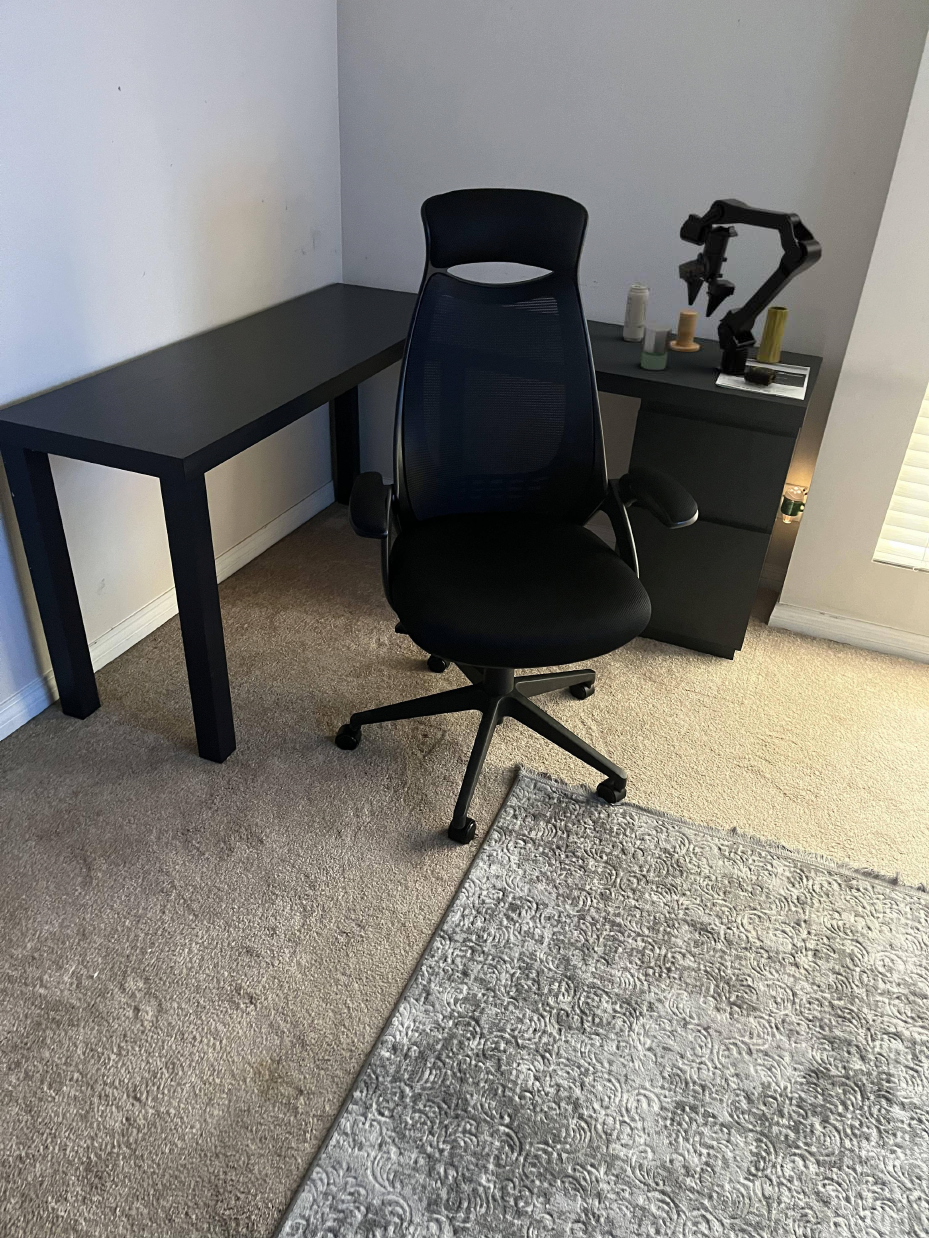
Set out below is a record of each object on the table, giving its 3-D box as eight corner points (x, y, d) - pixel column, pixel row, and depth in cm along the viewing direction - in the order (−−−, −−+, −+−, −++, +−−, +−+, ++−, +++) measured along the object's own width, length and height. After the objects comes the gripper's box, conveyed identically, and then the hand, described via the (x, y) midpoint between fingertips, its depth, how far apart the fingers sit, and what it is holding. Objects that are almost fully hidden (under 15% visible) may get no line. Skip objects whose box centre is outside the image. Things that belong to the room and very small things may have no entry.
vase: (774, 365, 242) (785, 311, 234) (752, 360, 245) (763, 308, 238) (782, 360, 246) (793, 307, 239) (761, 356, 249) (771, 304, 242)
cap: (668, 347, 239) (671, 324, 235) (669, 354, 232) (673, 331, 229) (641, 345, 239) (643, 322, 236) (641, 352, 233) (644, 329, 230)
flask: (670, 369, 237) (675, 331, 231) (648, 371, 235) (653, 333, 229) (657, 362, 242) (662, 325, 236) (636, 364, 240) (641, 326, 234)
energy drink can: (641, 343, 258) (648, 289, 250) (620, 340, 260) (627, 287, 252) (644, 338, 263) (651, 285, 255) (624, 335, 264) (630, 283, 256)
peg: (705, 350, 253) (711, 315, 247) (678, 353, 250) (684, 317, 245) (688, 342, 260) (693, 307, 254) (661, 344, 257) (666, 309, 252)
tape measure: (741, 384, 227) (744, 369, 225) (752, 378, 231) (755, 364, 229) (766, 390, 223) (769, 375, 221) (777, 384, 228) (780, 369, 226)
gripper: (670, 240, 233) (656, 299, 242) (706, 262, 219) (690, 324, 229) (706, 241, 236) (691, 299, 246) (744, 262, 223) (726, 323, 232)
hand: (698, 311), depth 238 cm, fingers open, 9 cm apart
